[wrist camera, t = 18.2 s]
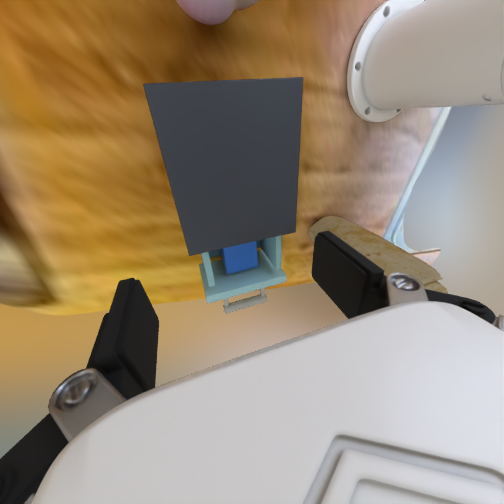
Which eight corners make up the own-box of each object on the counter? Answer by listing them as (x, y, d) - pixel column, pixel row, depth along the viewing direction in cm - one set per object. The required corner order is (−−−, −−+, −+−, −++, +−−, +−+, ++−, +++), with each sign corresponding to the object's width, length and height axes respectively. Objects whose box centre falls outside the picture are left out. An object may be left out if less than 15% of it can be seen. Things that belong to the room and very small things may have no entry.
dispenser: (266, 206, 34) (295, 232, 26) (184, 221, 31) (189, 256, 23) (262, 89, 26) (303, 77, 18) (151, 95, 23) (142, 83, 15)
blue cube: (246, 225, 32) (256, 239, 28) (248, 251, 34) (258, 266, 31) (216, 231, 31) (223, 246, 27) (221, 257, 33) (227, 274, 30)
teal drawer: (267, 279, 40) (285, 309, 34) (206, 295, 38) (214, 331, 31) (263, 173, 30) (289, 188, 24) (179, 185, 27) (182, 206, 21)
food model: (298, 243, 39) (387, 329, 23) (311, 208, 37) (424, 280, 20) (338, 247, 43) (439, 323, 27) (353, 216, 40) (476, 281, 24)
